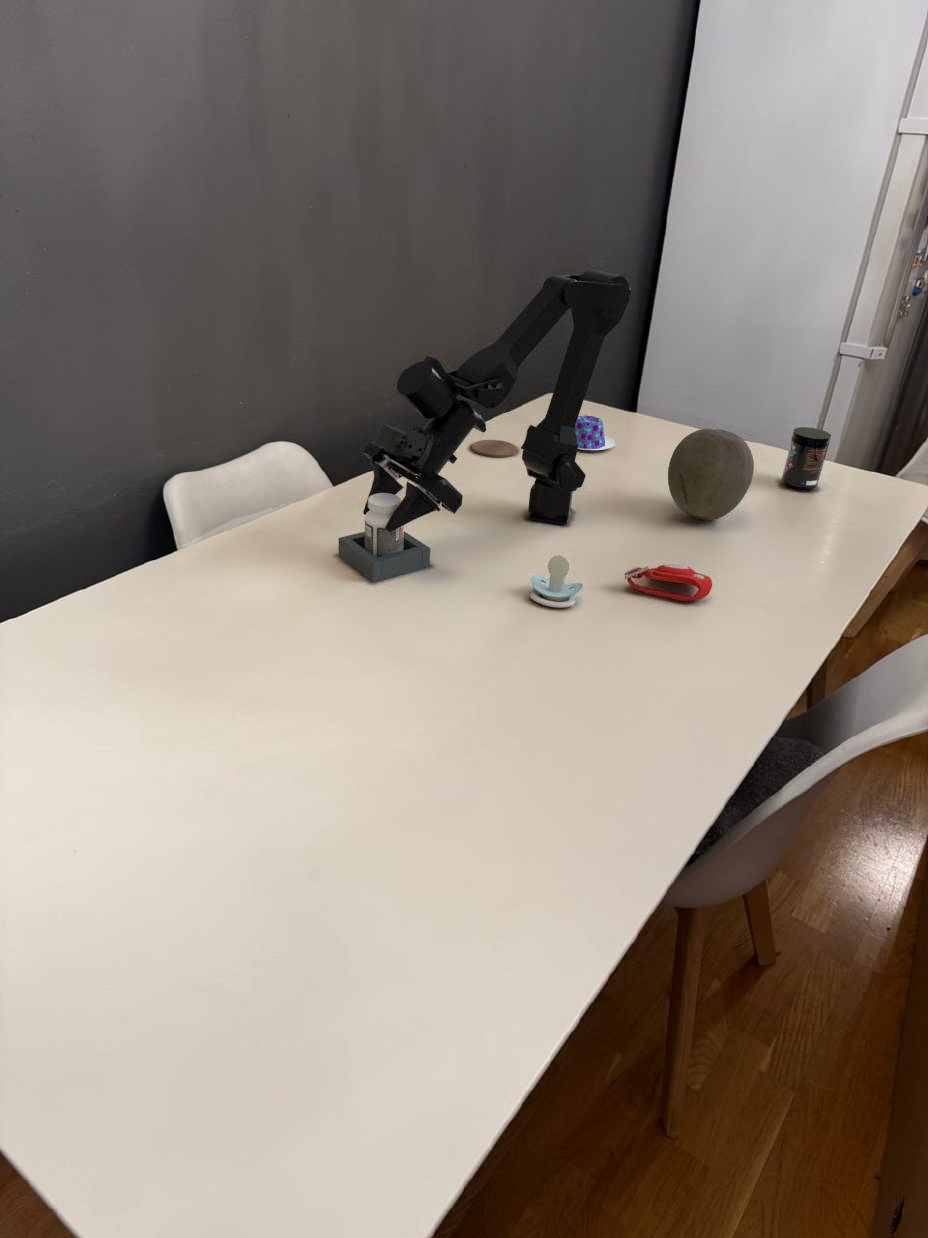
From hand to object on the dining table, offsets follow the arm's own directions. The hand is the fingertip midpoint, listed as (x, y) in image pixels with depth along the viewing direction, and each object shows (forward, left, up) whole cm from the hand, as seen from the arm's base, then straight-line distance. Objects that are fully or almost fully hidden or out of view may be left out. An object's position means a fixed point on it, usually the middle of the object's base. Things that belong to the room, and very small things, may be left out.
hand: (376, 522), depth 127 cm
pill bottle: (-1, -1, -7) cm, 7 cm away
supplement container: (-65, -59, -7) cm, 88 cm away
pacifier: (-27, +2, -7) cm, 28 cm away
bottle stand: (-1, -1, -7) cm, 7 cm away
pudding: (-23, -67, -7) cm, 71 cm away
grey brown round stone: (-47, -37, -7) cm, 60 cm away
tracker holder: (-42, -7, -7) cm, 43 cm away
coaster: (-6, -56, -7) cm, 57 cm away
